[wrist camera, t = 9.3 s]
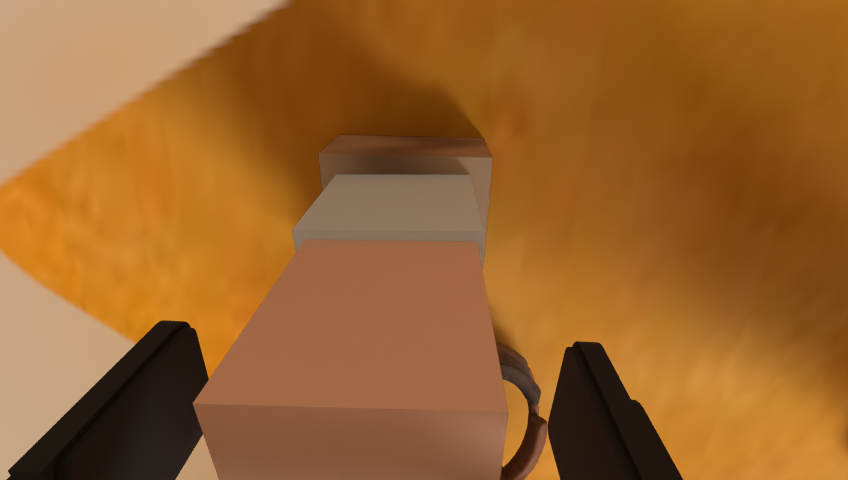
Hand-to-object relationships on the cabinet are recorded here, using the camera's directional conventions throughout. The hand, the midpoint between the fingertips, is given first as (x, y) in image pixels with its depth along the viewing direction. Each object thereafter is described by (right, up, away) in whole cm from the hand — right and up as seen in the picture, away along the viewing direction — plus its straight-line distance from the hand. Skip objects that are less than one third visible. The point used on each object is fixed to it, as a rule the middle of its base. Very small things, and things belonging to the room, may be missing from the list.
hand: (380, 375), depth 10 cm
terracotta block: (0, +1, +2) cm, 3 cm away
